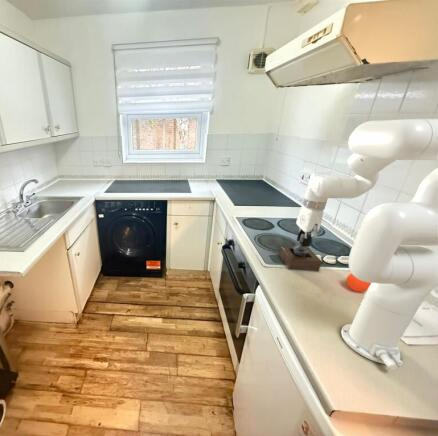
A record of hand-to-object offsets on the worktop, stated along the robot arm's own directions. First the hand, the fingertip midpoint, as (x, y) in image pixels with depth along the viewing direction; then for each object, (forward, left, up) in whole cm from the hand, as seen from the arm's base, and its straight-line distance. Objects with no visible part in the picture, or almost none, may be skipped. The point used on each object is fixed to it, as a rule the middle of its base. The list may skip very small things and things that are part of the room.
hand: (302, 243), depth 103 cm
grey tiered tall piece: (0, 0, -7) cm, 7 cm away
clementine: (-16, -14, -10) cm, 23 cm away
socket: (0, 0, -10) cm, 10 cm away
